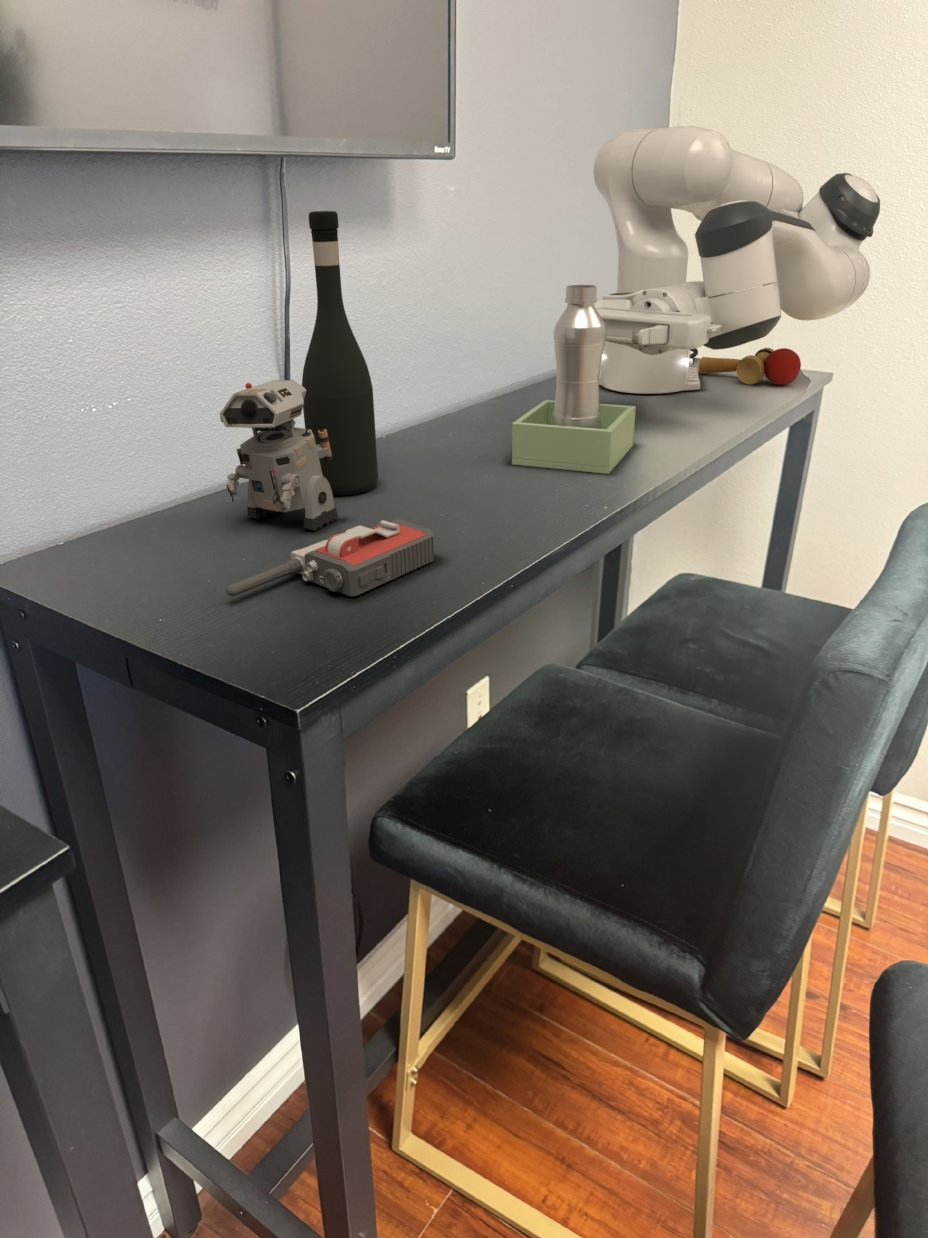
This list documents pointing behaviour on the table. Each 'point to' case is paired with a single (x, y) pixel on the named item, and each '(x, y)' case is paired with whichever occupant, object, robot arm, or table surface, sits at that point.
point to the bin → (573, 440)
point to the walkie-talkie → (354, 559)
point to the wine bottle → (338, 374)
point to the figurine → (280, 454)
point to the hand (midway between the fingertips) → (605, 334)
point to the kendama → (757, 366)
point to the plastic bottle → (578, 359)
